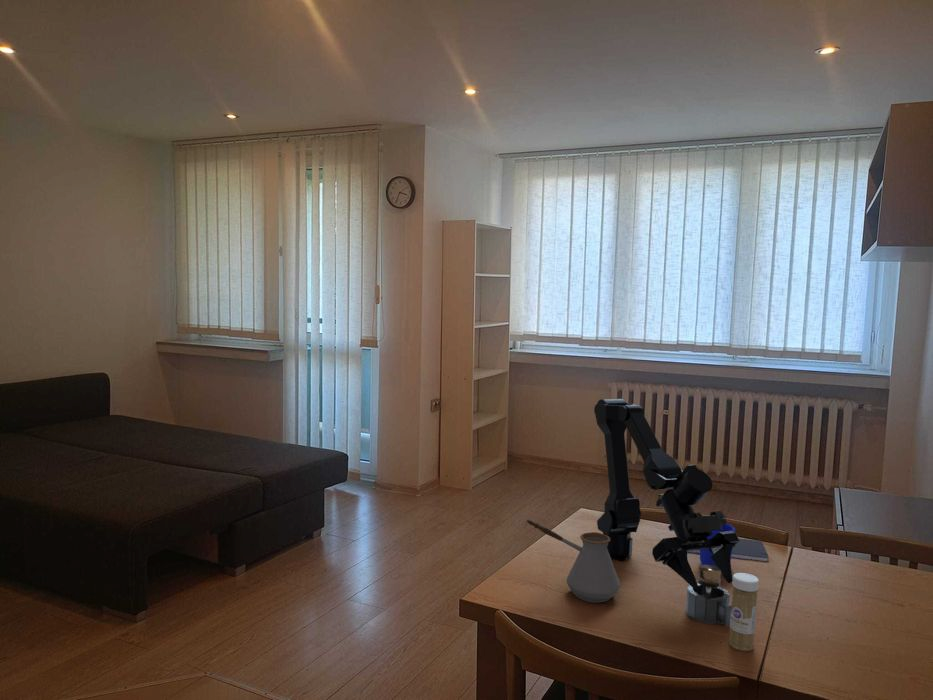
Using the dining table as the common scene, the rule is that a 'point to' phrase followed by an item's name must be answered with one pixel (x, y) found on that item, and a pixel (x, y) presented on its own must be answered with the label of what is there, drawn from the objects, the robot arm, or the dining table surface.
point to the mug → (705, 553)
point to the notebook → (748, 550)
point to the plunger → (709, 577)
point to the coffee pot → (590, 567)
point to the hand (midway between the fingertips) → (713, 585)
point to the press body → (709, 605)
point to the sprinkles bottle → (743, 611)
